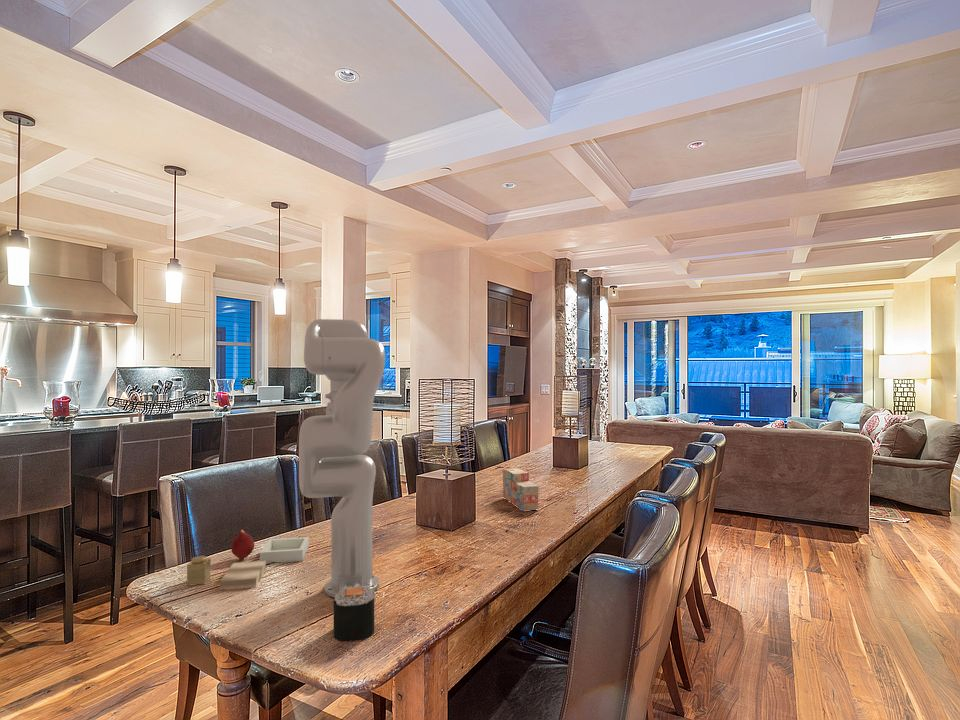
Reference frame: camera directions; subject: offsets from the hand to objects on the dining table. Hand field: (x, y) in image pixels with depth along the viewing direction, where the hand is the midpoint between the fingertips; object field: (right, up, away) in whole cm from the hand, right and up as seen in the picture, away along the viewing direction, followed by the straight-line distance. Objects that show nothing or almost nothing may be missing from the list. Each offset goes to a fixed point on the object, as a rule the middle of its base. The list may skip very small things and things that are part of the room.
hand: (343, 453), depth 158 cm
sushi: (+17, -26, -55) cm, 63 cm away
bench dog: (-28, -26, -30) cm, 49 cm away
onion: (-24, -27, -15) cm, 39 cm away
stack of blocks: (+57, -27, +40) cm, 75 cm away
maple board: (-17, -27, -28) cm, 43 cm away
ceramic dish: (-13, -26, -12) cm, 32 cm away
